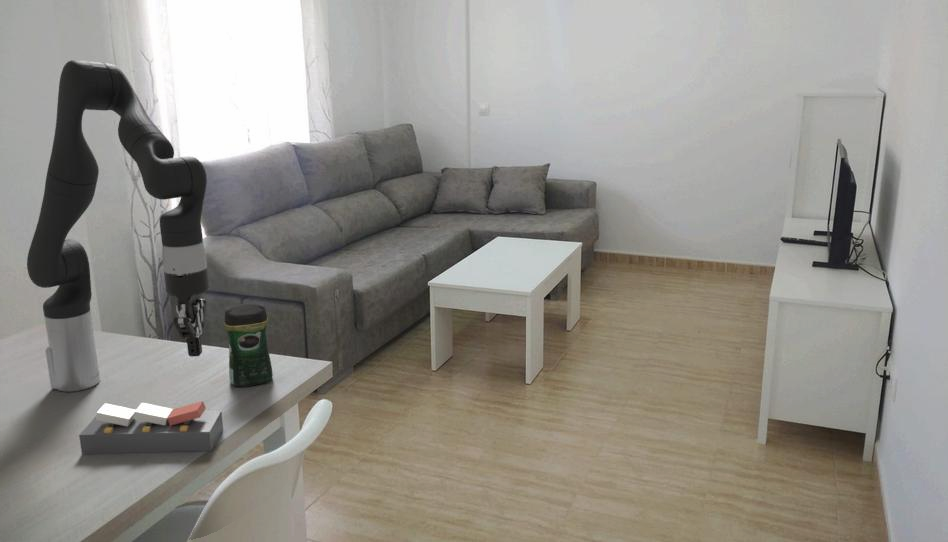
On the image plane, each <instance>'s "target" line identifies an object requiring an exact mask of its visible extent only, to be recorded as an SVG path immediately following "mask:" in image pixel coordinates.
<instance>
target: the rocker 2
mask: <svg viewBox="0 0 948 542" xmlns="http://www.w3.org/2000/svg"><path fill="white" fill-rule="evenodd" d="M173 409H174V408H171V407H165V406H161V405H156V404H151V403H147V402H141V403H140V404H139V406H137V408H136V409H135V412H134V418H133V419H136V420H140V421H145V422H150V423H155V424H160V425H164V426H165V425H166V424H167V422H168V419H167V418H168V416H169V415H170V413H171V412H172V411H173Z"/></svg>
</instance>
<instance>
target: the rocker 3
mask: <svg viewBox="0 0 948 542" xmlns="http://www.w3.org/2000/svg"><path fill="white" fill-rule="evenodd" d="M206 408H207V407H206V404H205V403H204V401H198V402H195V403H191V404H187V405H183V406H181V407H180V406H178V407H176V408H172V409H173V411H172V412H171V413H170V415H169V416H168V418H167V419H168V422H169V424H170V425H174V424H178V423H182V422H185V421H189V420H193V419H196V418H200V417H201V415H202V414H203V412H204V411H206Z"/></svg>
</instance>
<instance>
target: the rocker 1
mask: <svg viewBox="0 0 948 542" xmlns="http://www.w3.org/2000/svg"><path fill="white" fill-rule="evenodd" d="M135 410H136V409H134V408H130V407H125V406H121V405H115V404H110V403H106V402H104V404H103V405H102V406H101V407H100V408H99V409H98V411H96V415H95V417H96V420H99V421H103V422H108V423H113V424H118V425H123V426H129V424H130V423H131V422H132V421H133V418H134V412H135Z"/></svg>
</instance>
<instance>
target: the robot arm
mask: <svg viewBox="0 0 948 542" xmlns="http://www.w3.org/2000/svg"><path fill="white" fill-rule="evenodd" d="M86 110H87V111H113V112H115V114H117V115H118V116H119V118H120V119H119V121H118V125H117V127H118V128H117V136H118V139H119V141H120V144H121V145H122V147H123V148H124V150H125V151H126V152H127V154H129V156H130V158H132V159H133V161H134V162H135V163H136V165H137V168H138V170H139V173H140V175H141V178H142V182H143V186H144V188H145V190H146V192H147V193H148V194H149V196H152V197H153V198H155V199H156V200H157V199H158V200H162V201H165V200H171V199H177V198H180V200H179V203H178V204H177V206H175V207H174V208H172V209H170V210H168V211H165V212H164V213H162V214H161V215H160V217H159V229H160V238H161V244H162V245H161V246H162V251H161V252H162V253H161V256H162V257H161V258H162V266H163V275H164V283H165V290H166V291H165V292H166V293H167V294H168V295H170V296H172V297H175V298H176V299H177V301H176V304H175V310H176V314H177V315H178V317H174V318H173V324H174V326H175V329H176V330H177V332H178V334H179V336H180V338H181V339H186V344H187V347H186V348H187V353H188V356H189V357H192V358H193V357H200V356H201V354H202V353H203V347H202V336H201V335H202V334H203V330H202V329H204V327H205V317H206V305H207V300H206V298H202V294H204V293H206V292H207V291H208V290H209V289H210V279H209V272H208V263H207V253H206V248H205V246H204V241H203V240H204V239H203V229H202V215H203V206H204V201H205V196H206V190H207V182H208V181H207V172H206V168H205V167H204V164H202V162H201V161H200V160H199V158H196V157H194V156H182V157H181V156H180V157H174V156H175V149H174V146H173V145H172V143H171V142H170V140H169V139H168V138H167V137H166V136H165V135H164V134H163V132H162V131H161V130H160V129H159V128H158V126H156V124H155V123H154V122H153V121H152V120H151V118H150V117H149V115H148V114H147V112H146V110H145V108H144V106H143V105H142V102H141V100H140V99H139V97H138V95H137V94H136V92H135V89H134V88H133V86H132V85H131V83H130V81H129V79H128V78H127V75H126V74H125V73H124V72H123V71H122V69H120V67H119V66H117V65H115V64H111V63H109V62H99V61H97V62H96V61H90V60H80V59H79V60H78V59H73V60H68V61H67V62H66V63H65V64H64V66H63V68H62V71H61V73H60V77H59V83H58V95H57V108H56V121H55V129H54V136H53V142H52V148H51V152H50V158H49V162H48V167H47V171H46V177H45V183H44V191H43V192H44V193H43V195H42V196H43V197H42V202H41V206H40V211H39V215H38V221H37V224H36V228H35V230H34V234H33V236H32V239H31V242H30V246H29V250H28V254H27V260H26V269H27V273H28V277H29V279H30V280H31V282H32V283H33V284H34V285H35V286H36V287H40V288H43V289H48V288H53V287H57V286H58V287H57V289H56V291H54V293H53V294H52V295H50V296H49V297H48V298H47V299H46V300H45V301H44V302H43V304H42V310H43V317H44V324H45V329H46V334H47V335H46V336H47V343H48V347H47V348H46V349H45V355H46V356H45V357H46V363H47V370H48V371H47V372H48V377H49V383H50V389H51V390H57V391H61V392H67V393H68V392H77V391H82V390H87V389H90V388H92V387H95V385H97V384H99V382H100V381H101V377H100V370H99V363H98V355H97V348H96V347H97V346H96V340H95V333H94V326H93V319H92V318H93V317H92V311H91V301H92V281H91V270H90V269H91V267H90V262H89V257H88V254H87V252H86V249H85V247H84V246H83V245H82V244H81V243H80V242H79V241H77V240H75V239H70V238H68V239H67V236H68V234H69V232H70V231H71V229H72V228H73V227H74V225H75V224H76V223H77V222H78V221H79V219H80V218H81V217H82V216H83V214H84V213H85V212H86V210H87V209H88V208H89V207H90V204H91V203H92V201H93V199H94V196H95V192H96V188H97V183H98V179H99V174H100V173H99V171H100V169H99V165H98V162H97V160H96V158H95V155H94V154H93V151H92V150H91V148H90V146H89V144H88V142H87V141H86V138H85V136H84V133H83V125H82V124H83V115H84V112H85V111H86Z"/></svg>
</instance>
